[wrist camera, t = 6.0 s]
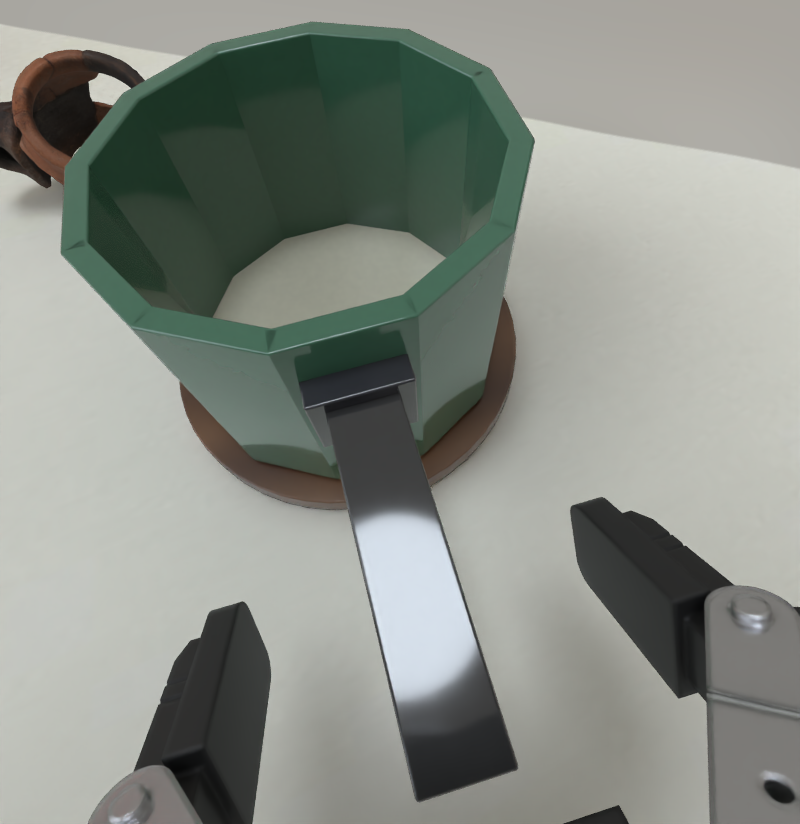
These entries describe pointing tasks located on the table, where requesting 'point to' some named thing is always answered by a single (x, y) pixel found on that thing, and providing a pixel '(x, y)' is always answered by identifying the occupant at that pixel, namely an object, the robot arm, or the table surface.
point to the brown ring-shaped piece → (55, 111)
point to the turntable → (329, 490)
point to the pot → (329, 301)
